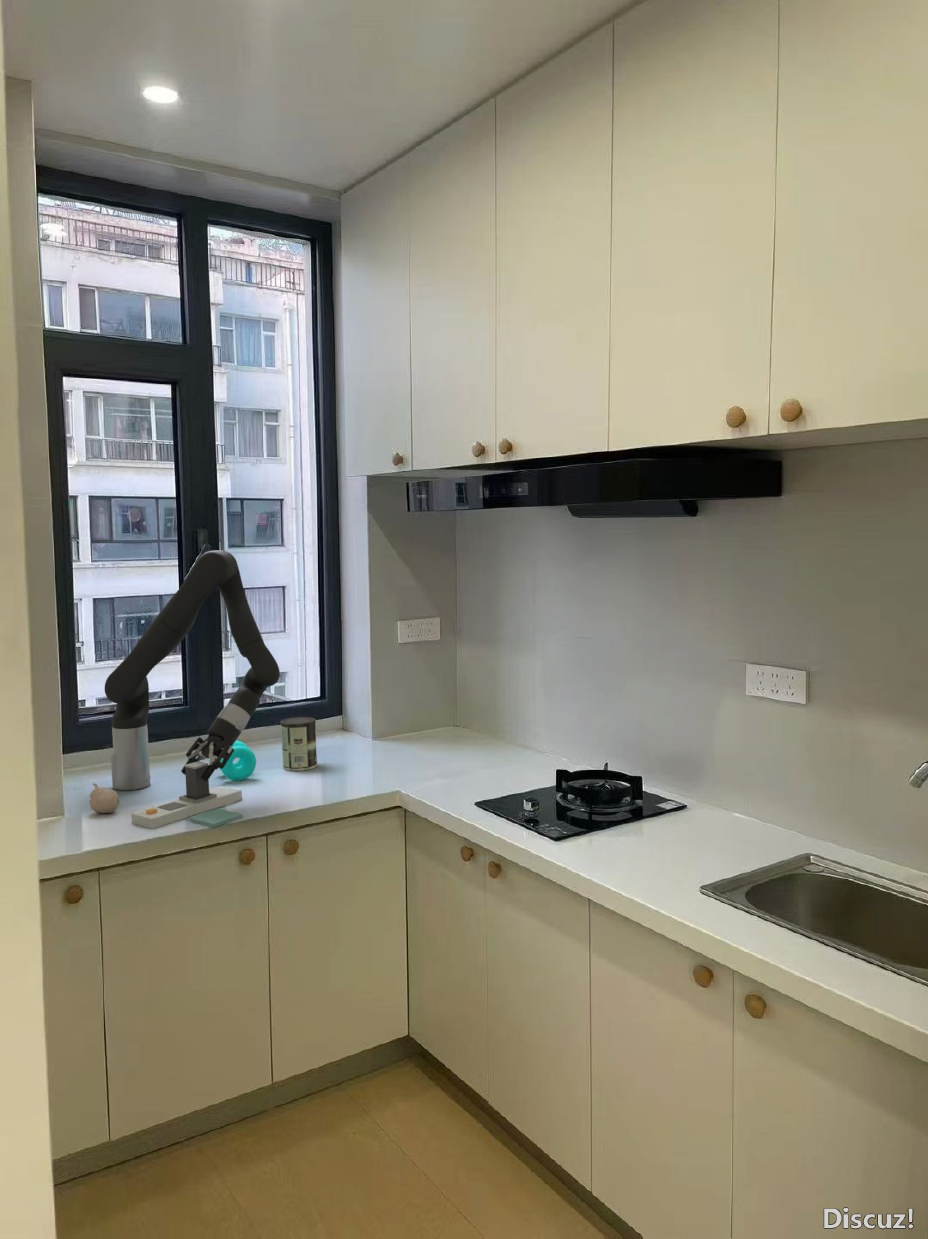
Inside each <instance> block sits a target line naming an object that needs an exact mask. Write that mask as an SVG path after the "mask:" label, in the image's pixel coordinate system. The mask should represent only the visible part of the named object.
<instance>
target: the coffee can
mask: <svg viewBox="0 0 928 1239" xmlns="http://www.w3.org/2000/svg"><path fill="white" fill-rule="evenodd" d="M316 721H317V719H316V718H314V717H310V716H297V717H296V716H294V717H293V716H292V717H288V718H284V719H282V720H280V730H281V731H280V732H281V752H282V769H283V770H285V771H291V772H299V771H300V772H301V771H308V770H313V769H315V768H317V767H318V757H317V739H316V738H317V735H316V734H317V733H316Z"/></svg>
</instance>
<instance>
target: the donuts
mask: <svg viewBox="0 0 928 1239" xmlns="http://www.w3.org/2000/svg"><path fill="white" fill-rule="evenodd" d="M231 747H232V748H233V749H234V752H233V753H232V755H231V757H230V758H229V760H228V761H227V763H226V765H225V766H224V768H222V769H221V768H218V769H219V770H220V771H221V772H222V774H223V776H224V777H226V778H227V779H228V780H230V781H235V782H238V781H244V780H246V779H248V778H249V777H250V776H252V774H253V773H254V771H255V770H256V765H257V756H256V755H255V753H254V752H253V751H252V750H251V749H250V748H249V746H248V745H246V743H244V742H242V741H239V740H236V741H235V743H234V744H233V746H231ZM236 759H238V760H237V761H236V762H234V760H236ZM222 761H223V758H222V759H221V763H222Z"/></svg>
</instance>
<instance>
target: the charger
mask: <svg viewBox="0 0 928 1239" xmlns="http://www.w3.org/2000/svg"><path fill="white" fill-rule="evenodd" d="M185 764H186V763H185ZM185 764H184V765H185ZM207 765H209V762H208V763H207V762H202V761H199V762H198V761H197V762H194V763H190V764H186V765H185V775H184V776H185V791H186V794H187V798H191V799H195V800H197V799H200V798H204V797H207V796H209V790H210V780H209V779H210V778H209V779H208V780H207V781H203V780H202V779H201V778H200V775H201V774H202V772H203V771H204V769H205V768H206V766H207ZM186 794H185V795H186Z"/></svg>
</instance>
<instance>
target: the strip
mask: <svg viewBox="0 0 928 1239" xmlns="http://www.w3.org/2000/svg"><path fill="white" fill-rule="evenodd" d="M242 793H243V791H242V790H241V789H237V788H232V787H227V786H223V785H220V786H217V787H213V788H209V796H207V797H204V798H200V799H197V800H195V799H191V798H187V794H184V795H180V796H178V798H176V799H173V800H170V801H168V802H164V803H162V804H157V805H155V806H151V807H148V808H144V809H141V810H139V811H135V812H132V813H130V814H131V815H130V816H131V818H130V819H131V824H134V825H137V826H141V827H145V828H148V829H155V828H159V827H161V826H165V825H167V824H171V823H173V822H177V821H180V820H183V819H186V818H190V817H193V816H196V815H199V814H202V813H205V812H208V811H211V810H214V809H218V808H219V807H223V806H226V805H229V804H232V803H235V802H238V801H241V800H243V794H242Z"/></svg>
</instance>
